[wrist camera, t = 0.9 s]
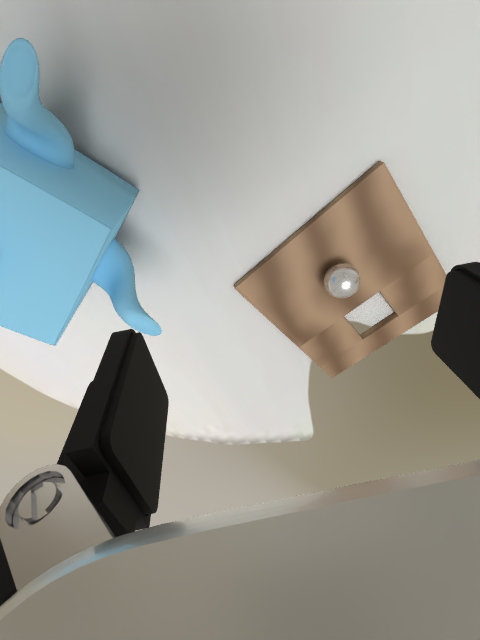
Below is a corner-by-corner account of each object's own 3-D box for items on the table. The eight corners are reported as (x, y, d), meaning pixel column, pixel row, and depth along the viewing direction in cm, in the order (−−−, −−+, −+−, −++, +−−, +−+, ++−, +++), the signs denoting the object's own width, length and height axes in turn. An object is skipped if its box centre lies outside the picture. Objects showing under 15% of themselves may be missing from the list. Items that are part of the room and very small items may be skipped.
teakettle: (-116, 105, 26) (-390, 113, 14) (106, 55, 25) (19, 20, 14) (17, 297, 37) (-71, 394, 25) (174, 265, 36) (160, 348, 25)
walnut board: (379, 160, 32) (384, 162, 31) (453, 293, 43) (458, 297, 42) (234, 284, 39) (234, 288, 38) (329, 373, 49) (332, 377, 48)
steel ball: (341, 250, 36) (355, 265, 33) (358, 273, 38) (373, 289, 35) (312, 272, 38) (323, 289, 34) (330, 293, 39) (342, 311, 36)
